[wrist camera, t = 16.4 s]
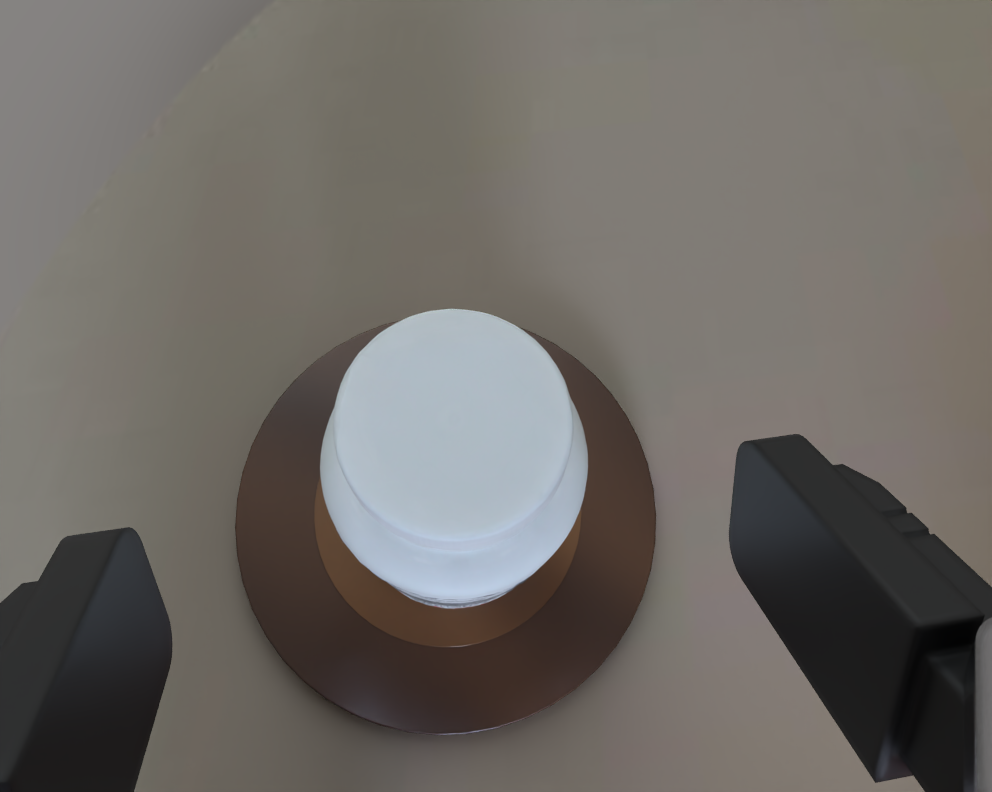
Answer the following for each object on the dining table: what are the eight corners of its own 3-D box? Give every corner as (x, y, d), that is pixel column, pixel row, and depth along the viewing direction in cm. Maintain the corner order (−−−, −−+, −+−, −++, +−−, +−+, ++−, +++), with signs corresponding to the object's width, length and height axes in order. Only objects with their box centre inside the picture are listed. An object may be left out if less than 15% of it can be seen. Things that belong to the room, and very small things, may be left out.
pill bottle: (438, 385, 23) (429, 212, 13) (585, 493, 22) (683, 388, 13) (319, 531, 21) (216, 450, 12) (473, 652, 21) (489, 665, 11)
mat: (557, 811, 20) (561, 817, 19) (159, 616, 21) (150, 615, 20) (706, 416, 24) (713, 410, 23) (360, 264, 25) (357, 254, 24)
